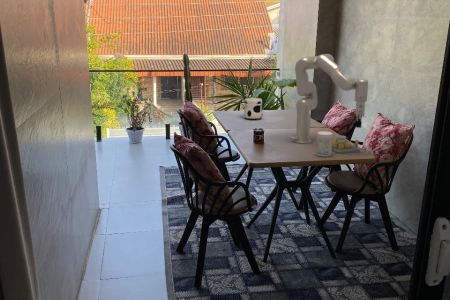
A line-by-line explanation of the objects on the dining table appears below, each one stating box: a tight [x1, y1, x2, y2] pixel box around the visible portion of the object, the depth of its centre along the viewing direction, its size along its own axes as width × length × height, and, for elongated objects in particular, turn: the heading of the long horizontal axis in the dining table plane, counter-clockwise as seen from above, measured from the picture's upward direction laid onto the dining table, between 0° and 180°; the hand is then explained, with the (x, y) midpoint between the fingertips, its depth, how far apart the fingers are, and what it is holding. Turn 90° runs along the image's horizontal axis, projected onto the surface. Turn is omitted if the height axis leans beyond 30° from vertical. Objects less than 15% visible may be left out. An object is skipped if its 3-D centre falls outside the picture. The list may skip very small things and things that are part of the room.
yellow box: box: [332, 138, 359, 149], centre depth 295 cm, size 17×12×5 cm
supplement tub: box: [315, 131, 333, 158], centre depth 281 cm, size 10×10×15 cm
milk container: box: [243, 97, 264, 121], centre depth 395 cm, size 17×17×18 cm
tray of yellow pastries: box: [332, 135, 360, 155], centre depth 296 cm, size 16×20×9 cm
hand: (358, 126), depth 285 cm, fingers closed
